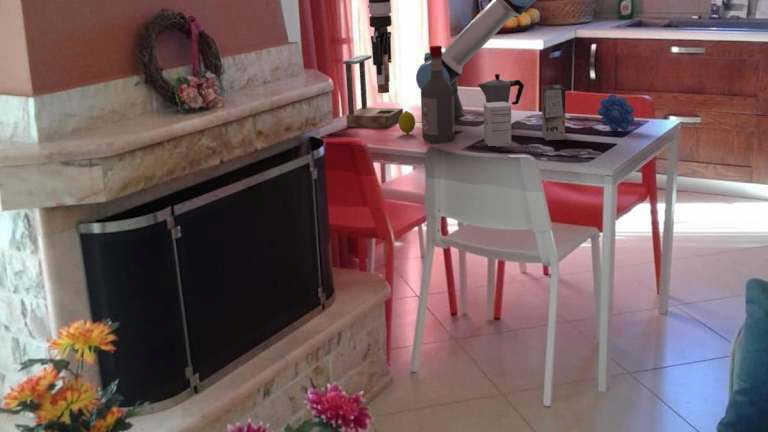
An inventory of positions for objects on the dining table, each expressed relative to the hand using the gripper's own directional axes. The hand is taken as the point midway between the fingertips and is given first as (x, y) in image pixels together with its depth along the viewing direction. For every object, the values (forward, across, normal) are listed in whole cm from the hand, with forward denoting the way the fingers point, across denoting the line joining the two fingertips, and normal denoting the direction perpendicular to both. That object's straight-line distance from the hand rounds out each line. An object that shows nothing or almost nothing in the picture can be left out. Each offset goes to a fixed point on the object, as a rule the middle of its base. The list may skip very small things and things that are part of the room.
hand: (383, 82), depth 312 cm
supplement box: (+15, +24, +47) cm, 55 cm away
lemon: (+15, +16, +14) cm, 26 cm away
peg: (+3, 0, 0) cm, 3 cm away
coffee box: (+14, +12, +62) cm, 65 cm away
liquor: (+15, +22, +27) cm, 38 cm away
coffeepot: (+15, 0, +42) cm, 45 cm away
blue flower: (+14, +2, +80) cm, 81 cm away
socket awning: (+14, 0, -3) cm, 15 cm away
